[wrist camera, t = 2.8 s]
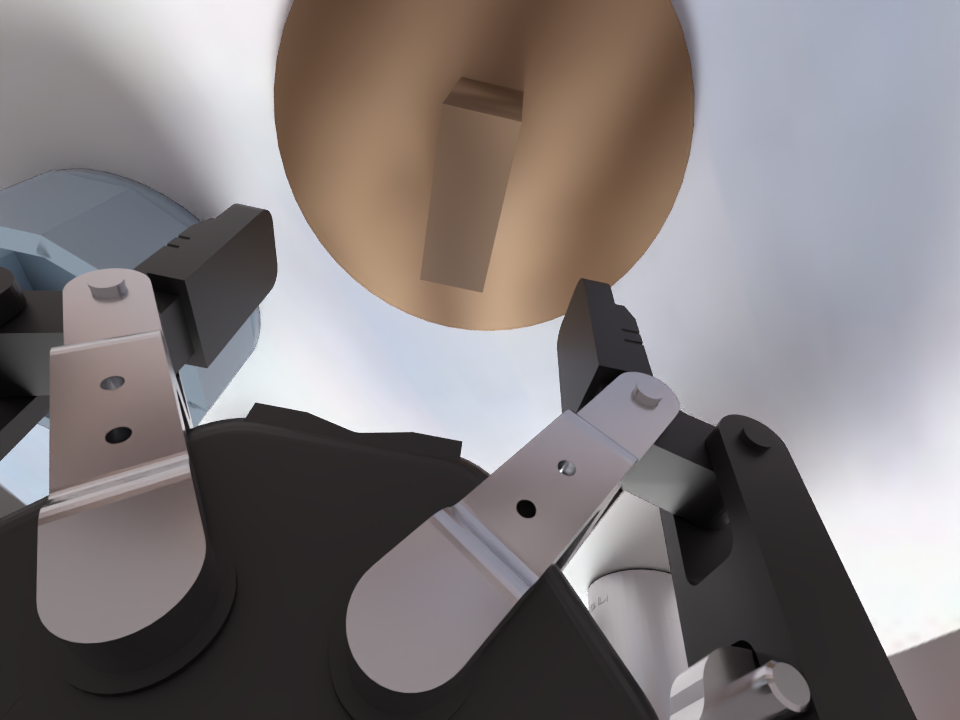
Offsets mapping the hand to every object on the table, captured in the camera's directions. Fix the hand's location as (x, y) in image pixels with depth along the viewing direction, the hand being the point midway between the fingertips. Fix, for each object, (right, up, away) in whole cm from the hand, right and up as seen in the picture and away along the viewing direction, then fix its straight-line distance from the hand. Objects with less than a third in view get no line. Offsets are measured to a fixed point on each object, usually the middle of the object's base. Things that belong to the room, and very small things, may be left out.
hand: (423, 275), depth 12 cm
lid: (+1, +7, +8) cm, 10 cm away
